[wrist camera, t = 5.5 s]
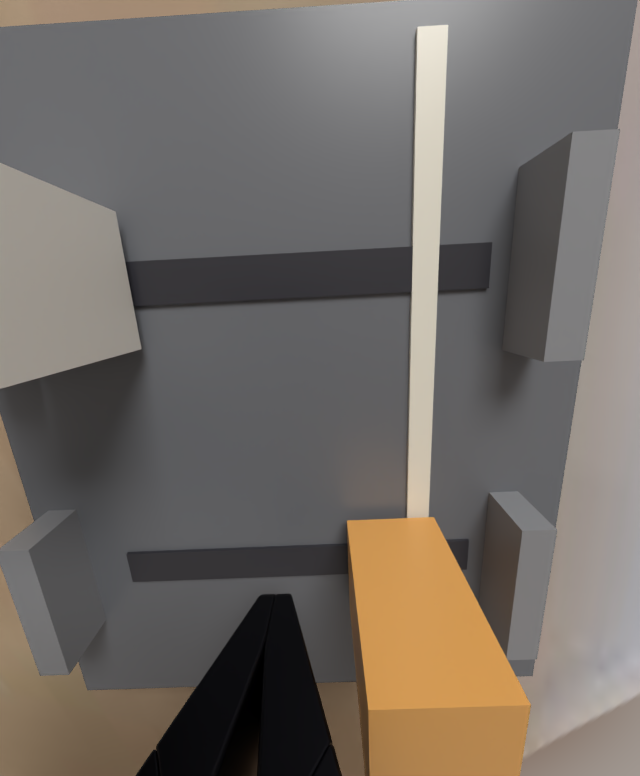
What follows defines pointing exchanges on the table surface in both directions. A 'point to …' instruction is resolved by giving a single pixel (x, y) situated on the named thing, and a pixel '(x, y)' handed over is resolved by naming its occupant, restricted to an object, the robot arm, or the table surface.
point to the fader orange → (427, 659)
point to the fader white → (59, 281)
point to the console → (309, 313)
